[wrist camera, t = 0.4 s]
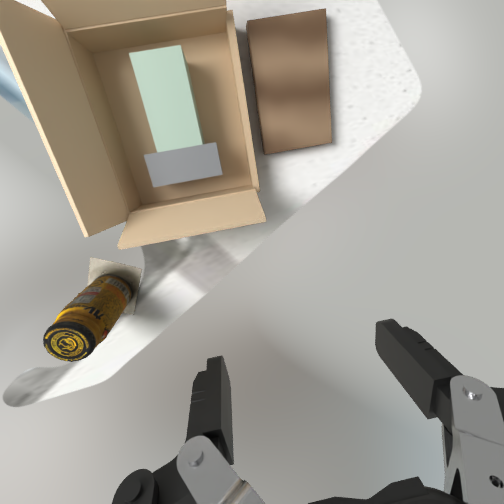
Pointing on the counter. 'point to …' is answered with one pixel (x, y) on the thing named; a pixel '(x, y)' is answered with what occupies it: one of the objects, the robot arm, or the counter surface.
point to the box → (173, 118)
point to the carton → (133, 111)
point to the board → (291, 79)
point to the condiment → (93, 310)
